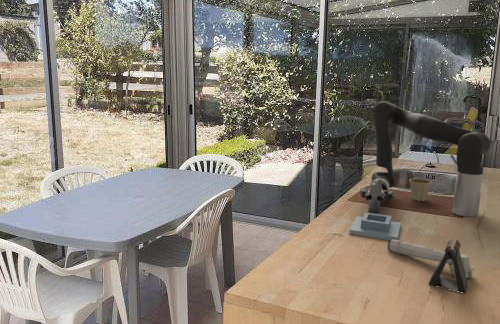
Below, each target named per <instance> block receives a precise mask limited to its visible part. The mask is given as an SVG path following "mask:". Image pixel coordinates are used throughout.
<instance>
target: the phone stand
mask: <svg viewBox="0 0 500 324" xmlns="http://www.w3.org/2000/svg"><path fill="white" fill-rule="evenodd" d="M453 242H454V239H453V238H452V239H449V240H448V242H447V245H446V247H445V249H444V252H445V255H444V256H443V258H442V260H441V261H440V262H438V264H437V267H436V269H435V270H434V271H433V273H432V275H431V276H430V277H431V278H430V279H429V282H428V286H431V285H433V286H432V287H435V286H439V287H443V288H447V289H451V290H455V291H459V292H463V293H465V294H466V293H467V290H468V285H469V282H468V278H466V274H465V270H464V267H463V263H462V259H461V256H460V254H461V251H460V249H461V242H460V240H457V239H456V241H455V243H454V246H453V248H452V244H453ZM448 259H451V260H453V264H454V270H455V275H454V277H455V276H456V277H455V280H454V279H450V278H446V277H443V276H441V275H442V273H443V271H444V268H445V266H446V264H447V263H446V262H447V260H448ZM439 287H438V288H439ZM443 288H442V289H443ZM447 289H446V290H447Z"/></svg>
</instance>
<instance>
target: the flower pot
mask: <svg viewBox="0 0 500 324" xmlns="http://www.w3.org/2000/svg"><path fill="white" fill-rule="evenodd" d="M409 183H410V191H411V192H410V194H411V199H412V200H413V199H414V200H413V201H416V200H417V202H420V201H422V202H426V201H427V198H428V195H429V191H430V187H431V184H432V181H431V180H429V179H425V178H410V179H409Z"/></svg>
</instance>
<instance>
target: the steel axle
mask: <svg viewBox="0 0 500 324" xmlns="http://www.w3.org/2000/svg"><path fill="white" fill-rule="evenodd" d="M369 187H370V192H369V200H368V207H367V209H368V210H367V213H373V214H381V213H380V210H381V202H380V195H381V188H382V184H381V183H376V182H372V181H371V182H370V183H369Z"/></svg>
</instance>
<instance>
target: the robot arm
mask: <svg viewBox="0 0 500 324" xmlns="http://www.w3.org/2000/svg"><path fill="white" fill-rule="evenodd" d="M373 120H374V127H375V129H374V130H375V137H376V139H375V141H376V159H375V162H376V163H375V165H376V166H377V167H379V168H384V169H386V171H387V172H386V171H384V172H383V171H376V172H374V173H372V175H371V183H372V182H376V183H381V184H382V188H381V195H380V203H382V202H384V201H385V200H386V201H390V200H392V199H394V198H395V191H394V190H391V191H389V190H390V188H393V187H394V186H395V185H396V181H397V180H396V176H395V172H394V170H393V145H392V142H391V138H390V133H389V124H391V125H395V126H396V125H397V126H399V127H402V128H405V129H406V130H408V131H410V132H411V133H413V134H415V135H417V136H419V137H422V138H425V139H427V140H430V141H435V142H441V143H446V144H447V143H448V144H452V145H454V146H457V148H456V149H457V150H456V159H455V160H456V167H457V169H456V179H455V185H454V193H453V194H454V196H453V204H452V211H451V212H452V213H453V214H456V215H458V216H462V217H467V218H468V217H470V218H471V217H472V218H473V217H476V218H478V216H479V210H480V205H481V204H480V202H481V196H482V193H481V191H482V190H481V189H482V184H483V183H482V182H483V175H484V167H483V165H482V163H481V162H482V161H481V160H482V155H484V154H485V153H487V152H488V151H489V150H490V149H491V145H492V144H491V140H490V138H489V137H488V136H487V135H486V134H485V133H483V132H481V131H475V130H471V129H466V128H462V127H458V126H456V125H453V124H451V123H449V122H446V121H444V120H441V119H439V118H435V117H433V116H431V115H426V114H423V113H416V112H411V111H408V110H406V109H404V108H402V107H400V106H398V105H396V104H394V103H391V102H389V101H388V102H387V101H384V100H381V101H380V102H379V101H378V102H377V103H376V105H374V109H373ZM359 190H360V191H359V192H360V196H361V198H364V199H365V200H366V201H369V192H370V186H369V187H368V188H367V189H365V187H360V189H359Z"/></svg>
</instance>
